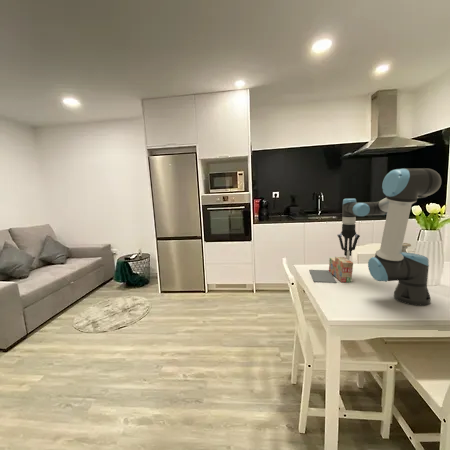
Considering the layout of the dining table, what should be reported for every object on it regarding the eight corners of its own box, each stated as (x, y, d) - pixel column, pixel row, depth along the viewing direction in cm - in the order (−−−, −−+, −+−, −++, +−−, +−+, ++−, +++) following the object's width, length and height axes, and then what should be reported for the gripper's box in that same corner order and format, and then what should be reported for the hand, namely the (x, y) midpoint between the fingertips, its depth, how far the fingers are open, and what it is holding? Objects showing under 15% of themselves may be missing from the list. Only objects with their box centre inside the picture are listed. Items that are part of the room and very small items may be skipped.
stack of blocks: (328, 270, 183) (329, 253, 181) (337, 271, 183) (339, 253, 181) (341, 282, 162) (342, 262, 160) (351, 282, 162) (353, 262, 160)
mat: (336, 282, 162) (336, 282, 162) (313, 282, 164) (313, 281, 164) (329, 271, 185) (329, 270, 185) (309, 270, 187) (309, 269, 187)
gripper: (358, 222, 170) (357, 259, 173) (336, 222, 172) (335, 259, 175) (362, 224, 162) (360, 262, 166) (338, 224, 165) (337, 262, 168)
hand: (347, 260), depth 170 cm, fingers closed
